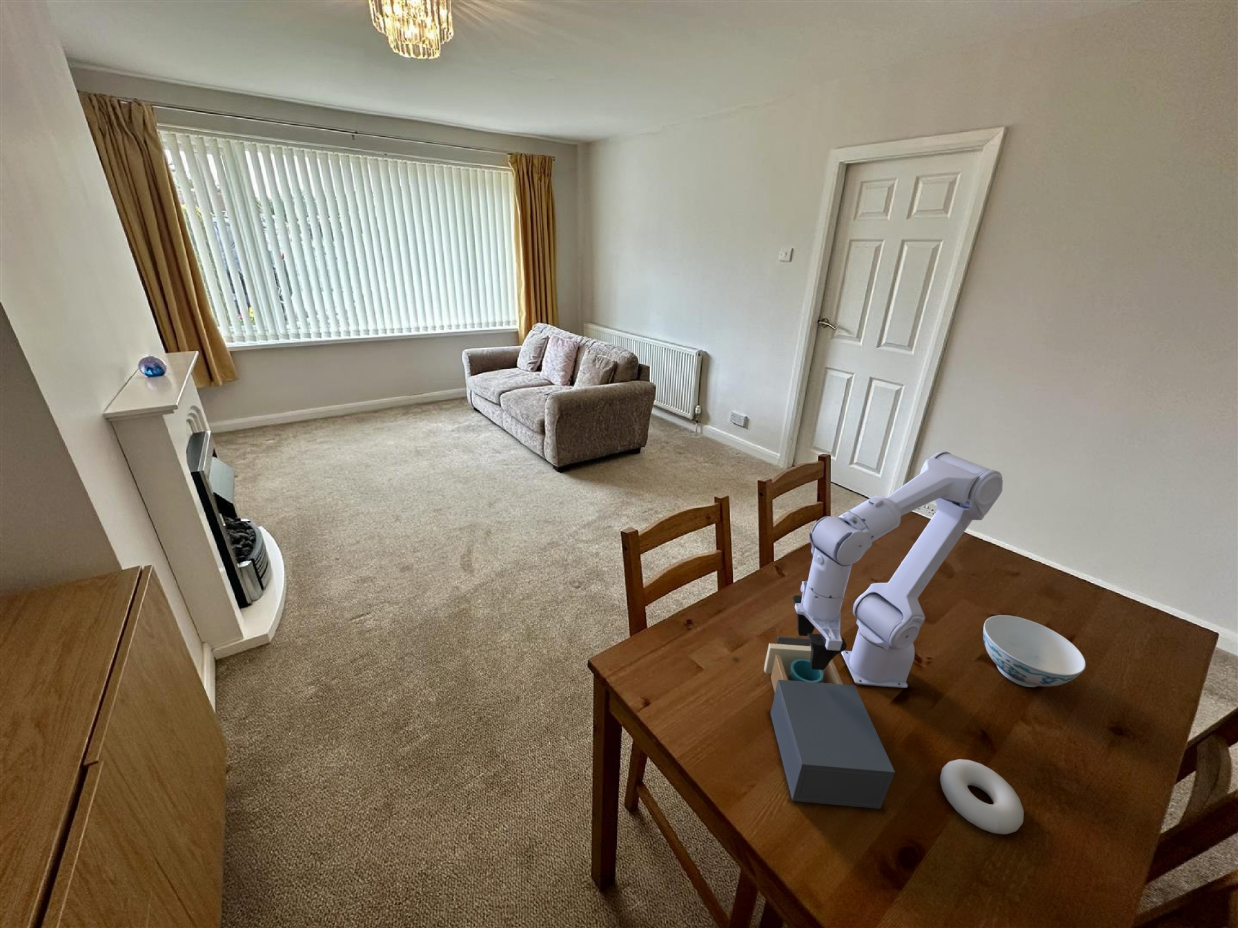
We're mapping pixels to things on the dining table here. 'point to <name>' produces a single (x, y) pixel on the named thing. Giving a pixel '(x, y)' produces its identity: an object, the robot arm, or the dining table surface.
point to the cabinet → (829, 745)
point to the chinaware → (1031, 652)
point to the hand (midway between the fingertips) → (810, 650)
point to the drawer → (785, 654)
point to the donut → (988, 817)
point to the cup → (804, 672)
